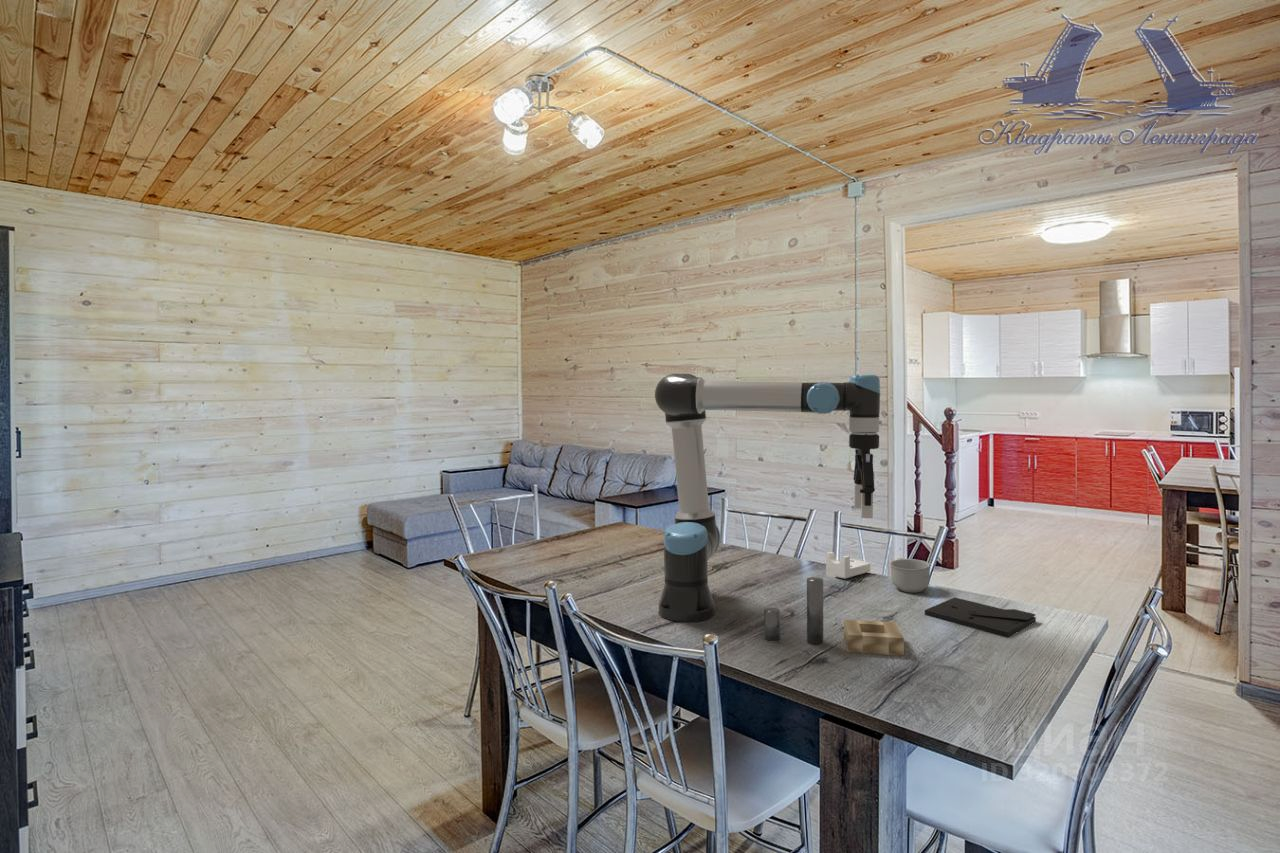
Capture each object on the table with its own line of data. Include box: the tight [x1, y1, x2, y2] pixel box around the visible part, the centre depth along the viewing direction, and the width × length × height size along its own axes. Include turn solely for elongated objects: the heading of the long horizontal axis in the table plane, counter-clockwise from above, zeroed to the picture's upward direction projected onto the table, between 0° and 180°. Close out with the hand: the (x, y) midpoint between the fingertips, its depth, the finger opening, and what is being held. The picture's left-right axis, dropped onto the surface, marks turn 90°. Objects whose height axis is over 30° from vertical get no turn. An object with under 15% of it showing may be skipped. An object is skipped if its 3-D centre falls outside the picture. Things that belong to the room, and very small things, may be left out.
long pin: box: [806, 576, 824, 646], centre depth 156 cm, size 4×4×15 cm
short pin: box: [763, 607, 781, 642], centre depth 159 cm, size 4×4×7 cm
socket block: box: [843, 619, 905, 656], centre depth 154 cm, size 12×10×4 cm
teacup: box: [889, 557, 931, 594], centre depth 196 cm, size 14×11×8 cm
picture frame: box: [924, 597, 1037, 639], centre depth 170 cm, size 16×3×21 cm
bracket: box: [825, 551, 871, 579], centre depth 211 cm, size 13×7×8 cm, turn 125°
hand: (863, 512), depth 176 cm, fingers open, 13 cm apart
